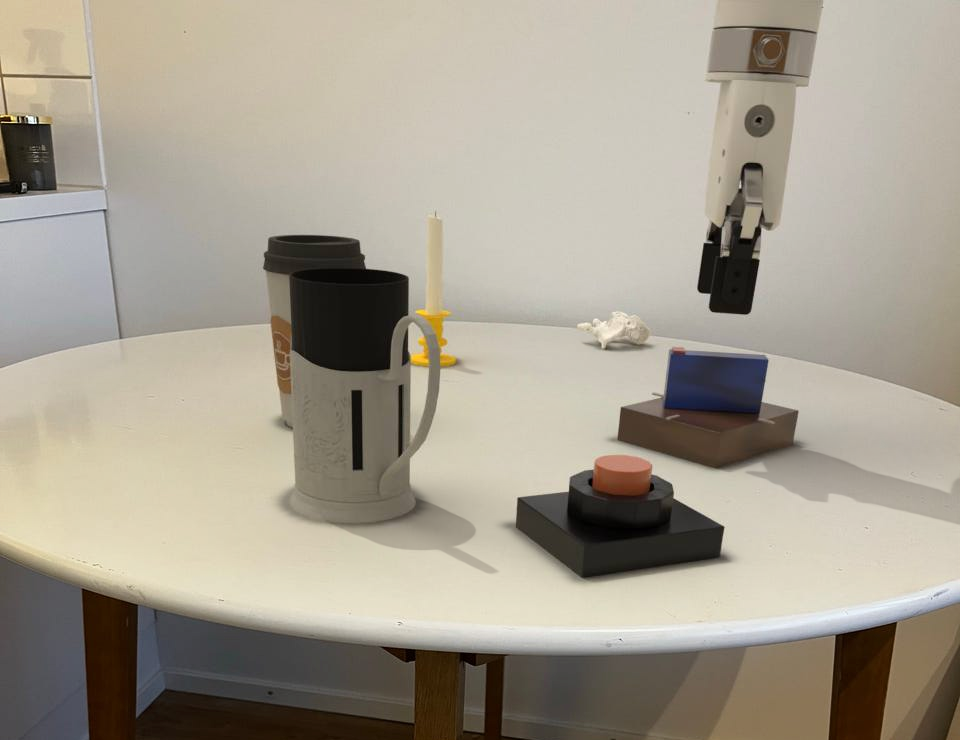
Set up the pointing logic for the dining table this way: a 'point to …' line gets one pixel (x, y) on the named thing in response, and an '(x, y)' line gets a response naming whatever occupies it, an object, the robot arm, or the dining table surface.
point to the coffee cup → (278, 264)
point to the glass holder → (354, 393)
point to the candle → (434, 294)
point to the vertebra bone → (617, 329)
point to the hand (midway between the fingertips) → (721, 302)
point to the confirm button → (622, 475)
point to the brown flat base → (706, 431)
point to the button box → (617, 528)
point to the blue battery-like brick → (714, 381)
